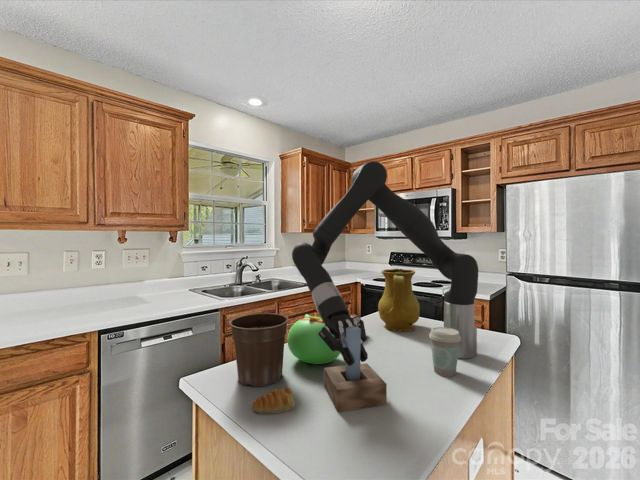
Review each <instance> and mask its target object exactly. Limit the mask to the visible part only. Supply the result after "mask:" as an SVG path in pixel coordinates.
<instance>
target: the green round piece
mask: <svg viewBox="0 0 640 480" xmlns="http://www.w3.org/2000/svg"><path fill="white" fill-rule="evenodd" d="M323 327H325V324H324V323H323V321H322V319H321V316H315V315H309V314H307V313H306V314H305V315H304V317H303V318H300V319H299V320H297V321H295V322H294V323H293V324H292V326H291V327H290V329H289V331H288V334H287V337H286V338H287V346H288V349H289V351H290V352H291V354H292V355H293V356H294V357H295V358H296V359H298V360H299V361H302V362H303V363H307V364H311V365H321V364H327V363H330V362H332V361H335V360H336V359H337V358H338V357H339V356H340V355H341V352H339V351H332V350H331V349H330V348H329V346H328V345H327V344H326V343H325V342H324V341H323V339H322V338H321V337H320V336H319V334H318V333H319V332H320V330H321V329H322V328H323ZM332 336H333V334H332ZM333 337H334V336H333ZM333 345H334V344H333Z"/></svg>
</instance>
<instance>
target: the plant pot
mask: <svg viewBox="0 0 640 480" xmlns="http://www.w3.org/2000/svg"><path fill="white" fill-rule="evenodd" d="M288 323H289V317H287V316H286V315H285V314H279V313H272V312H262V313H261V312H260V313H251V314H245V315H241V316H237V317H234V318H232V319H231V320H230V321H229V322H228V324H229V326H230V328H231V329H230V330H231V335H232V339H233V343H234V352H235V362H236V369H237V380H238V382H239V383H240V384H241V385H245V386H248V385H251V386H252V387H264V386H269V385H272V384H274V383H277V382H278V381H279V380H280V378H282V377H283V365H284V352H285V351H284V350H285V339H286V335H287V327H288Z"/></svg>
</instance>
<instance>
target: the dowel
mask: <svg viewBox="0 0 640 480" xmlns="http://www.w3.org/2000/svg"><path fill="white" fill-rule="evenodd" d="M346 345H347V347H346V348H349V350H350V352H351V354H352V356H353V358H354V361H355V362H354V363H353V364H352V365H351V366H348V364H346V363H345V366H346V381H356V380H360V364H361V360H360V354H361V329H360V328H359V327H347V328H346Z"/></svg>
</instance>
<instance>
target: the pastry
mask: <svg viewBox="0 0 640 480" xmlns="http://www.w3.org/2000/svg"><path fill="white" fill-rule="evenodd" d="M253 401H254V402H253V404H252V409H253V411H254V412H255V413H258V414H260V415H264V414H267V415H269V414H272V415H273V414H274V415H275V414H279V413H278V412H280V413H285V412H289V411H292V410H294V408H295V407H296V401H295V397H294V393H293V391H292V389H291V387H288V386H285V387H284V388H277V389H271V390H270V391H269V392H267V393H265V394H263V395H261V396H259V397H257V398H256V399H254V400H253ZM284 411H285V412H284Z"/></svg>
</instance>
